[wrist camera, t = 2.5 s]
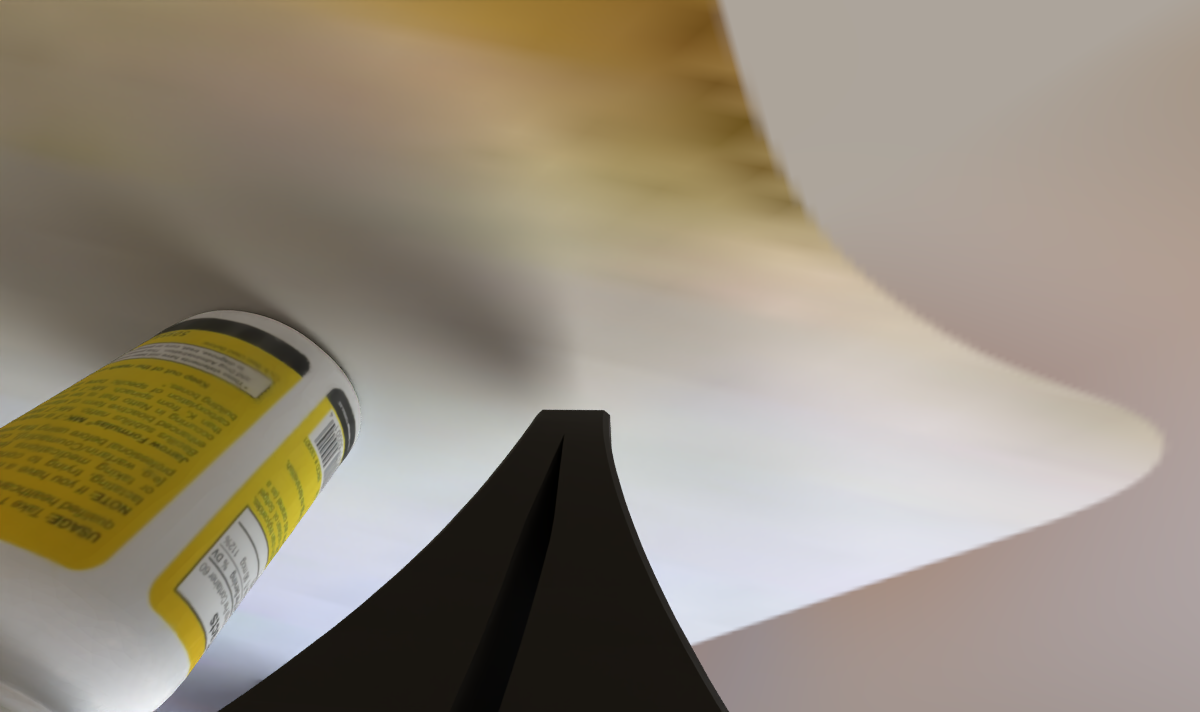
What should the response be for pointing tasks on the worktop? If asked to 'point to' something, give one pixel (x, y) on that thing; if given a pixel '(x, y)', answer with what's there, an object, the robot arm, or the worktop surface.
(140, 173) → the worktop surface
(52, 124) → the worktop surface
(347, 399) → the supplement bottle
